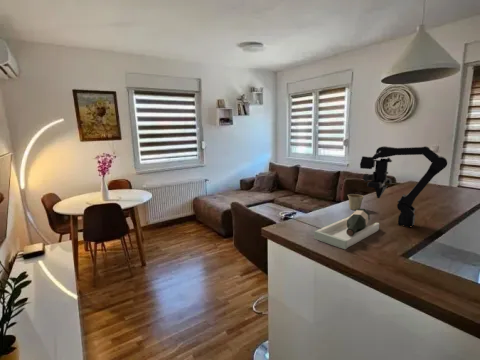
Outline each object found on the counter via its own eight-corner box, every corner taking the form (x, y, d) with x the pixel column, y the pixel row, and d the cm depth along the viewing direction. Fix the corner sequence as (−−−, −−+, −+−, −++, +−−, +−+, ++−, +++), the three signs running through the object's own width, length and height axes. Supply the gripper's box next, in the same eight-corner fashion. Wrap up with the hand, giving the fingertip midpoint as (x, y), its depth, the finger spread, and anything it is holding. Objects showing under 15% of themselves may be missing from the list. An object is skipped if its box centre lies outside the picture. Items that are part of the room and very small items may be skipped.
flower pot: (348, 206, 176) (349, 193, 175) (363, 208, 172) (364, 195, 170) (345, 209, 169) (346, 196, 167) (361, 212, 164) (362, 198, 162)
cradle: (378, 230, 134) (379, 223, 133) (344, 249, 113) (345, 241, 112) (349, 222, 145) (350, 216, 145) (314, 238, 124) (314, 231, 123)
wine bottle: (372, 212, 138) (363, 229, 114) (366, 226, 141) (355, 245, 116) (356, 205, 142) (344, 220, 117) (350, 219, 145) (337, 236, 120)
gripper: (372, 166, 156) (370, 192, 159) (358, 170, 144) (356, 198, 147) (393, 168, 148) (390, 196, 151) (380, 172, 136) (377, 202, 139)
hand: (378, 198), depth 147 cm, fingers closed
